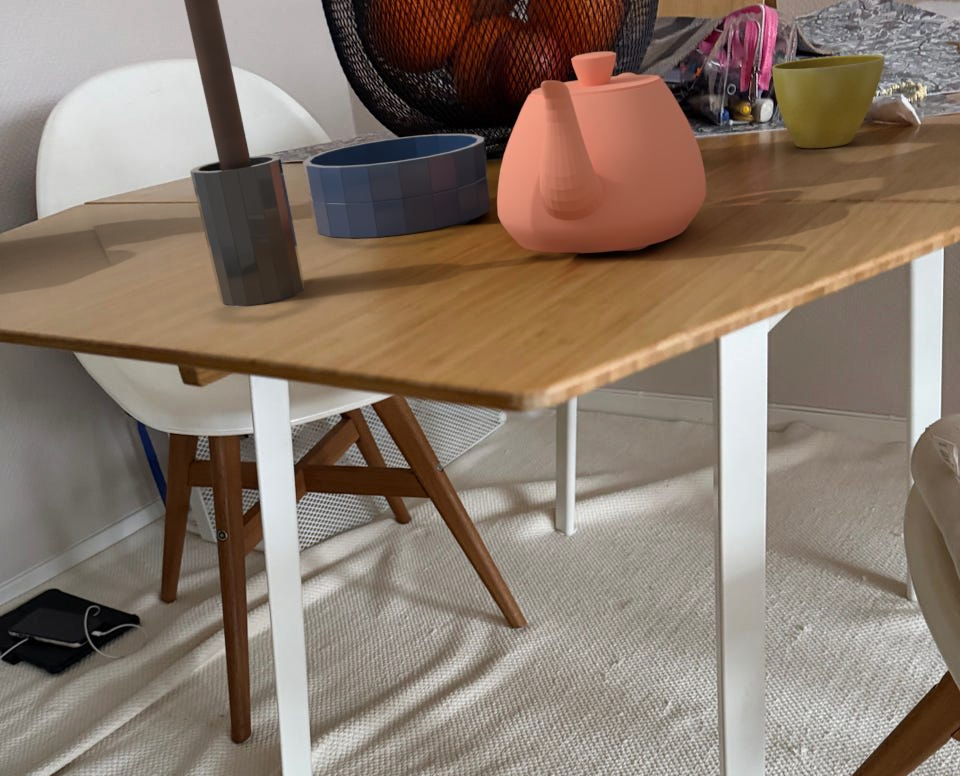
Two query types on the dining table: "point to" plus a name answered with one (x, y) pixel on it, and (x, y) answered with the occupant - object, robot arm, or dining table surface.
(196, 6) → the stick
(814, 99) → the flower pot
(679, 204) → the teapot
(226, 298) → the utensil cup
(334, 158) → the bowl
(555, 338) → the dining table surface
